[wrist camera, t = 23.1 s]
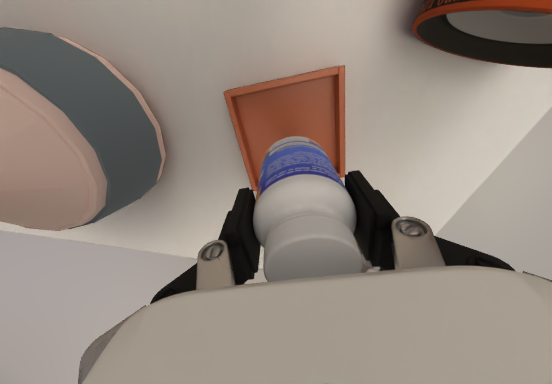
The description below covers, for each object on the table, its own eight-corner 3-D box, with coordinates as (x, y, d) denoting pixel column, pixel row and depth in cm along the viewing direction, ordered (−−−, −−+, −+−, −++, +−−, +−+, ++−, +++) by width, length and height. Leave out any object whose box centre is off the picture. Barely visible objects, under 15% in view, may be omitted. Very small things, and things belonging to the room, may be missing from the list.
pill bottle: (250, 148, 15) (216, 243, 7) (318, 123, 14) (373, 200, 6) (276, 202, 18) (272, 316, 10) (334, 184, 17) (387, 295, 9)
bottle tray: (254, 181, 29) (252, 191, 26) (228, 89, 22) (223, 91, 20) (339, 168, 27) (345, 177, 25) (338, 65, 21) (345, 65, 19)
